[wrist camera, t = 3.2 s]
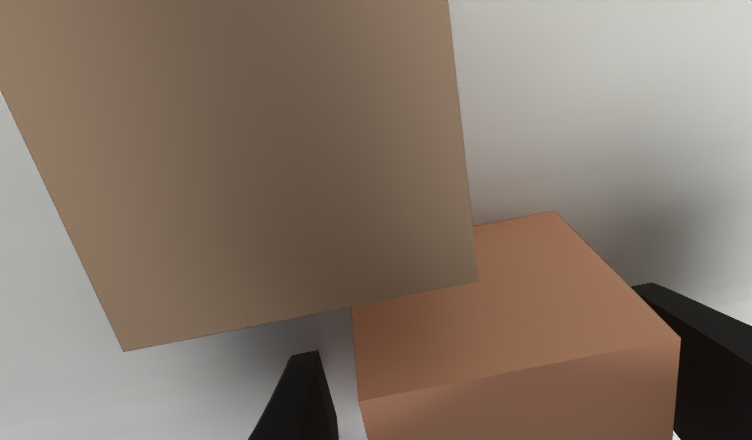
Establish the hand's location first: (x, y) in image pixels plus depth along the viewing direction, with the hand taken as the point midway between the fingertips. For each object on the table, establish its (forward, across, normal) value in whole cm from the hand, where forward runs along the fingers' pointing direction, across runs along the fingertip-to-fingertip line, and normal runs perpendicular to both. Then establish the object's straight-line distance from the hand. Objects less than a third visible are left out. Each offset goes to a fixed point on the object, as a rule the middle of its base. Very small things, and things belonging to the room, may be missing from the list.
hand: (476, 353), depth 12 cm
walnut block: (+2, +3, -7) cm, 7 cm away
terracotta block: (+2, 0, 0) cm, 2 cm away
